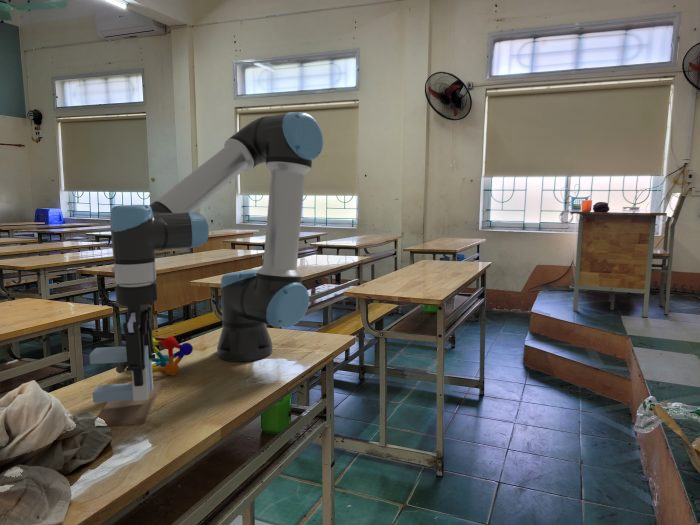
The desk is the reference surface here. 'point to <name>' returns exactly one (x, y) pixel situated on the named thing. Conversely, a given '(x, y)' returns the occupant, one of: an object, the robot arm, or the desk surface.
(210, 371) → the desk surface
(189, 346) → the molecular model
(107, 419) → the stand
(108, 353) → the c link
